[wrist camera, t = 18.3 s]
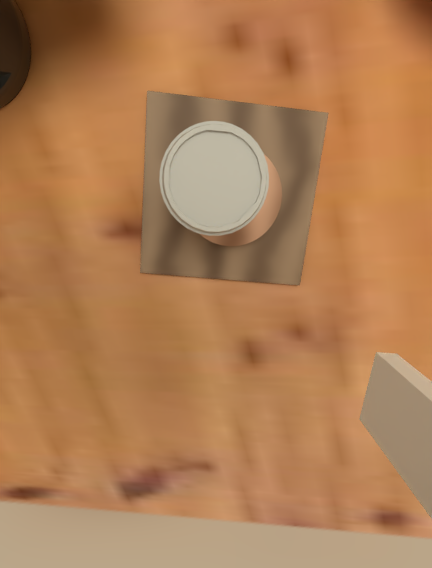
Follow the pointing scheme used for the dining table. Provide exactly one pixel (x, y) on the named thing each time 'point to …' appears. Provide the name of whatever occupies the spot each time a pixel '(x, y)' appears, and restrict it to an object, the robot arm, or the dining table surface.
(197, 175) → the disposable coffee cup
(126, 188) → the dining table surface
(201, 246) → the pedestal
